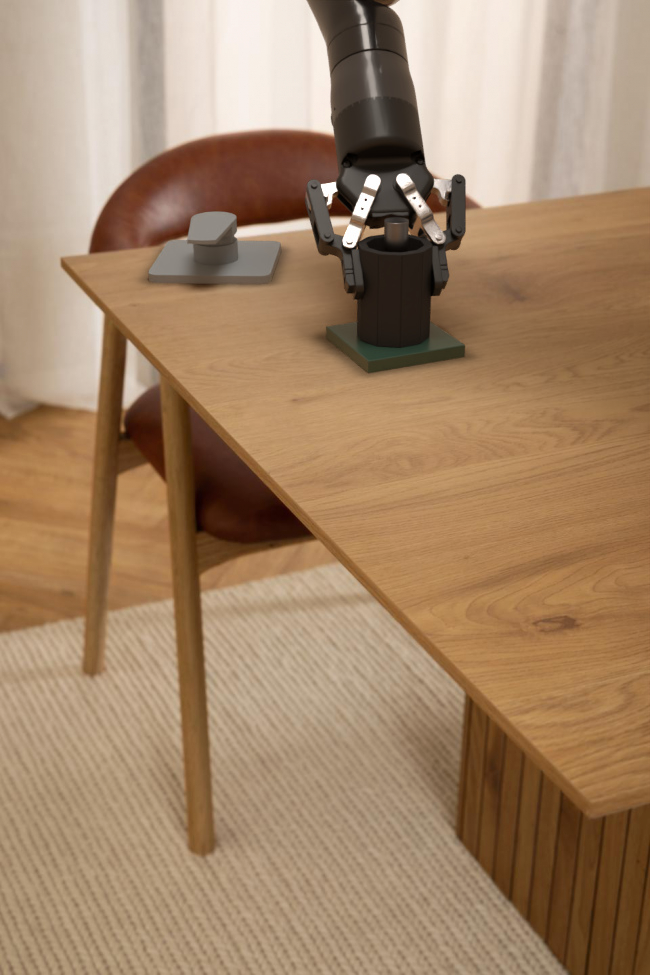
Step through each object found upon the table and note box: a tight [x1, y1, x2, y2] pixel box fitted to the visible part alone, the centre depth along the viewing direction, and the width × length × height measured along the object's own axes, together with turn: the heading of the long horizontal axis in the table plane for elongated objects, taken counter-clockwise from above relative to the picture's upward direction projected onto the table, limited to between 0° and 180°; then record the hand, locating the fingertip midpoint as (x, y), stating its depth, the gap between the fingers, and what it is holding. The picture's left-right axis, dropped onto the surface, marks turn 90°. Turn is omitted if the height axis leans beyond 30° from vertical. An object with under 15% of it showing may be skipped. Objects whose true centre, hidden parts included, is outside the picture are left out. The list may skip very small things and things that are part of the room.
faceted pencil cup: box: [356, 233, 433, 348], centre depth 100 cm, size 6×6×8 cm
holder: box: [325, 217, 466, 374], centre depth 100 cm, size 9×9×11 cm
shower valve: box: [147, 210, 282, 285], centre depth 121 cm, size 12×6×15 cm
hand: (398, 293), depth 98 cm, fingers closed on faceted pencil cup, 6 cm apart
